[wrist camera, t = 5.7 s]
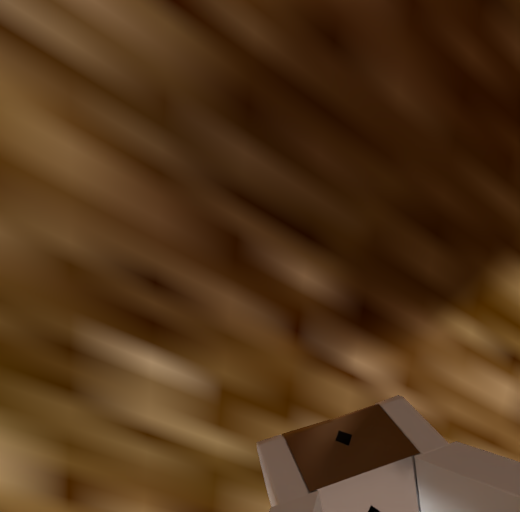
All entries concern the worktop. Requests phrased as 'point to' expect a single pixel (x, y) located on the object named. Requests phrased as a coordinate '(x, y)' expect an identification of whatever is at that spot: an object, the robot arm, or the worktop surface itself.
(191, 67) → the worktop surface
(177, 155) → the worktop surface
